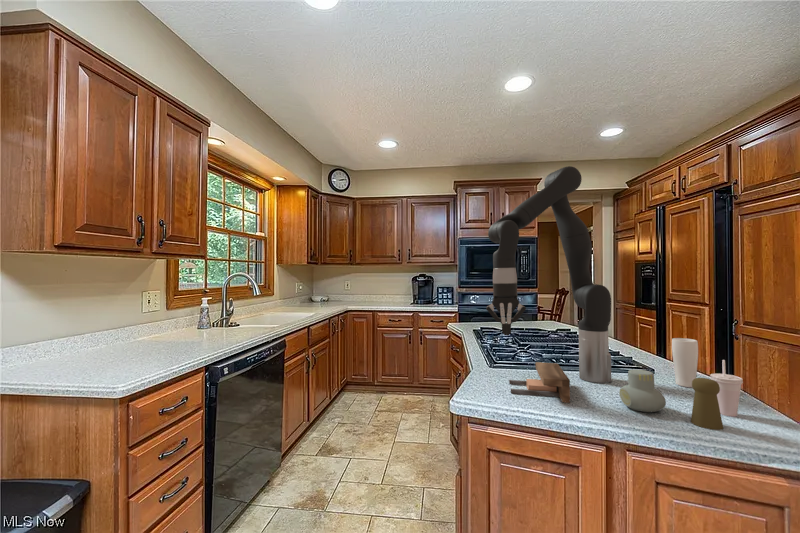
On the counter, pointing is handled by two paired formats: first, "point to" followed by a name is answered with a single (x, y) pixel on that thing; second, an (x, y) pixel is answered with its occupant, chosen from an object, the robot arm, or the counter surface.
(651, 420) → the counter surface
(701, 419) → the cork
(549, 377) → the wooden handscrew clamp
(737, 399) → the smoothie
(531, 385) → the light orange flat block
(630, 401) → the air freshener
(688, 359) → the drinking glass
